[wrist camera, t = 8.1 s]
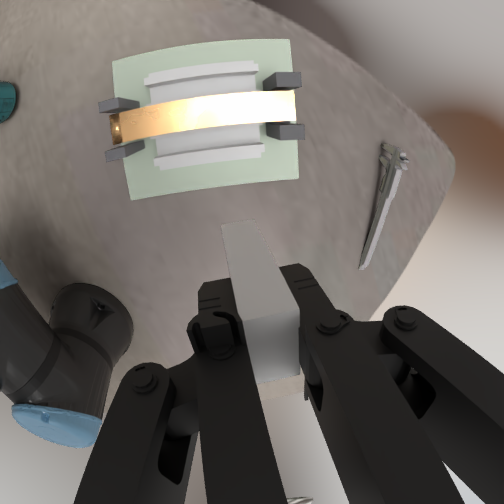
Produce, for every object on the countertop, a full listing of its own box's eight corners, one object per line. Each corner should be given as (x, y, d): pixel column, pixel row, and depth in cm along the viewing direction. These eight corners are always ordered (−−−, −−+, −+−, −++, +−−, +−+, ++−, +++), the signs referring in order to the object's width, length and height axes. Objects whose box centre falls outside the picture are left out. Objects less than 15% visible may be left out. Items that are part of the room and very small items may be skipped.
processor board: (133, 197, 33) (110, 224, 25) (116, 63, 25) (85, 48, 17) (295, 176, 35) (322, 196, 27) (286, 42, 27) (311, 19, 18)
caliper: (379, 142, 35) (405, 149, 29) (385, 143, 35) (411, 150, 29) (357, 268, 44) (375, 289, 38) (362, 268, 44) (381, 289, 38)
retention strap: (122, 142, 26) (111, 145, 23) (118, 115, 24) (107, 116, 21) (286, 120, 27) (296, 120, 24) (284, 93, 26) (294, 90, 23)
